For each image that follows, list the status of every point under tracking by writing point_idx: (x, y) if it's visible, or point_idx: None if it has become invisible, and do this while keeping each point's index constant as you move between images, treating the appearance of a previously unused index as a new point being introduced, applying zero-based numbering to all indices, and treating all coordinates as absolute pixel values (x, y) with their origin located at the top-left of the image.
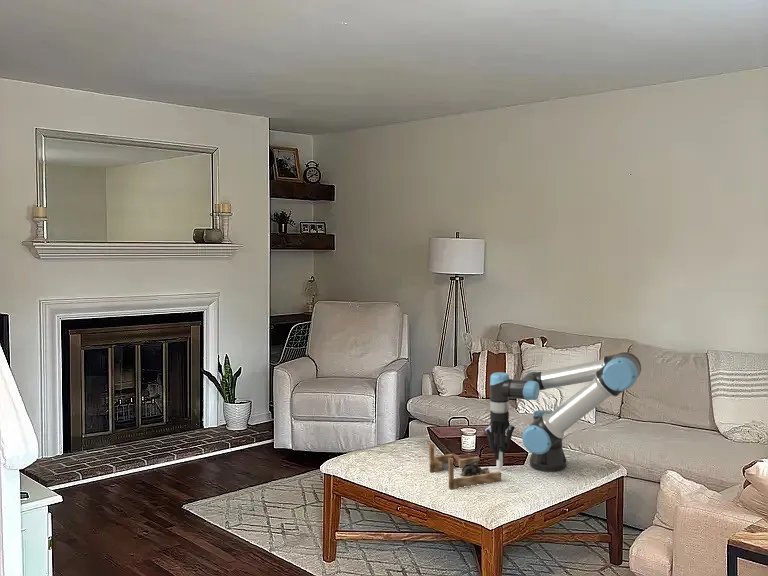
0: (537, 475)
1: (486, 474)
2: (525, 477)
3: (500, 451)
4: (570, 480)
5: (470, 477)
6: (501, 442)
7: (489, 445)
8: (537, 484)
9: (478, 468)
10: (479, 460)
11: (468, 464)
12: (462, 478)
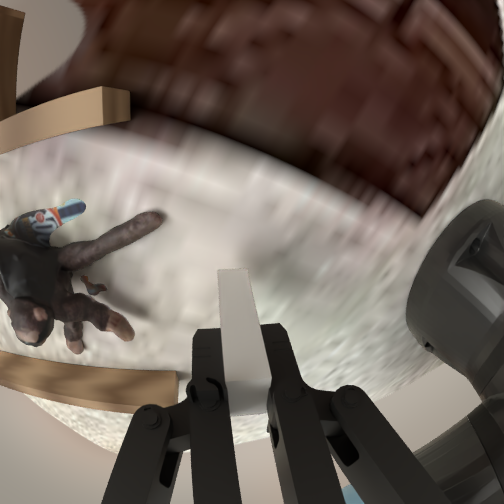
0: (360, 358)
1: (102, 406)
2: (304, 370)
3: (257, 400)
4: (396, 390)
5: (40, 397)
6: (287, 494)
7: (119, 457)
8: None
9: (64, 321)
10: (112, 122)
11: (3, 282)
12: (16, 389)
